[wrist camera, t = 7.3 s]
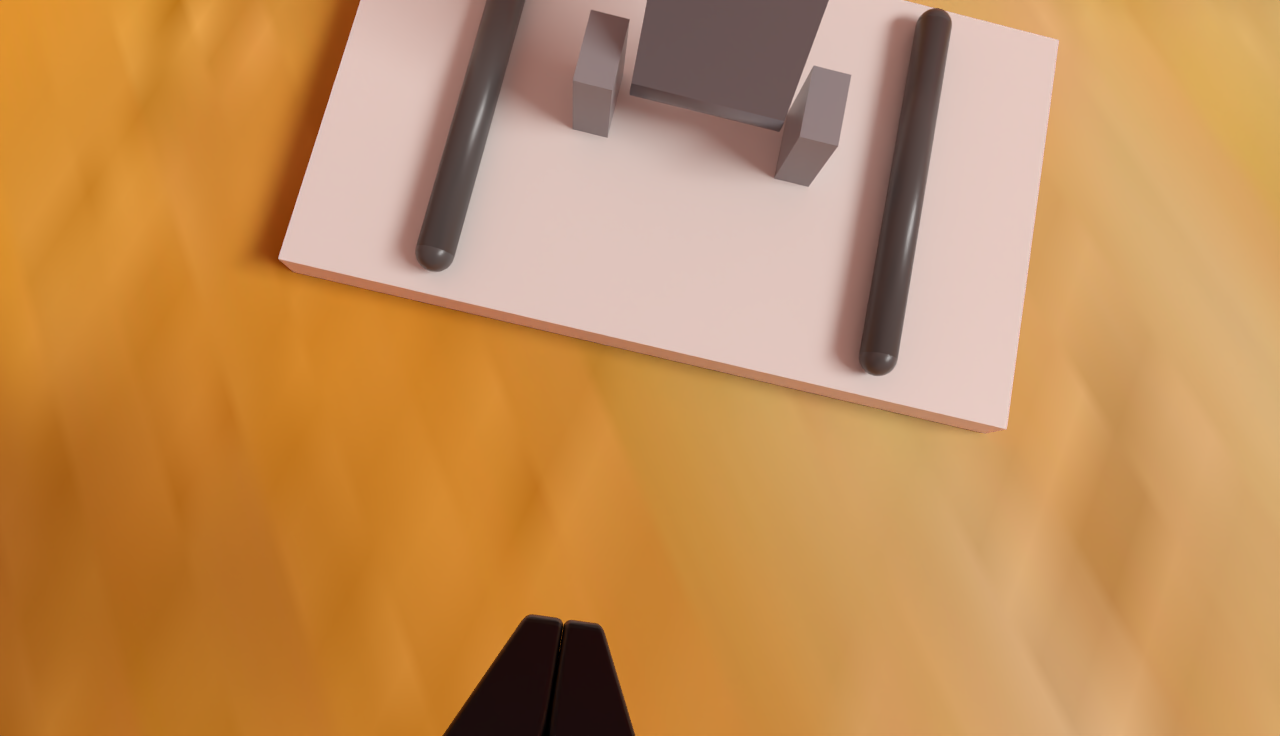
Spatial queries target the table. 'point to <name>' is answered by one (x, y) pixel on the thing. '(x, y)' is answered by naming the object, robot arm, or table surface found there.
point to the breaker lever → (726, 56)
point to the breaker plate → (697, 194)
